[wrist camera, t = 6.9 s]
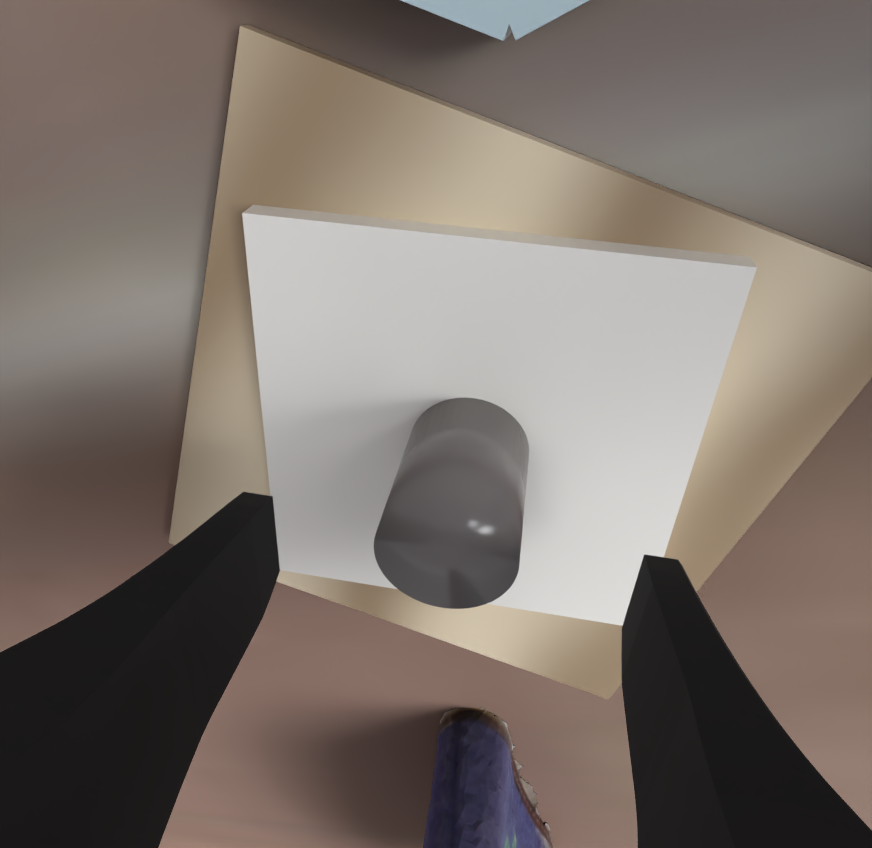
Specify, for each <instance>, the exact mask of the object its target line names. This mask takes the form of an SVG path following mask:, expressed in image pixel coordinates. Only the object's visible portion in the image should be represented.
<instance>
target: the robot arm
mask: <svg viewBox="0 0 872 848" xmlns="http://www.w3.org/2000/svg"><path fill="white" fill-rule="evenodd" d="M279 572H280V567H279V556H278V546H277V536H276V526H275V515H274V505H273V496H268V495H261V494H255V493H248V492H242V493H241V494H240V495H238V496H237V497H236V498H234V499H233V500H232V501H230V502H229V503H228V504H227V505H225V506H224V507H223V508H222V509H220V510H219V511H218V512H217V513H215V514H214V515H213V516H212V517H210V518H209V519H208V520H207V521H206V522H204V523H203V524H202V525H200V526H199V527H198V528H197V529H195V530H194V531H193V532H192V533H190V534H189V535H188V536H187V537H185V538H184V539H183V540H181V541H180V542H179V543H177V544H176V545H175V546H174V547H172V548H171V549H170V550H168V551H167V552H166V553H164V554H163V555H162V556H160V557H159V558H158V559H156V560H155V561H154V562H152V563H151V564H150V565H148V566H147V567H145V568H144V569H142V570H141V571H140V572H138V573H137V574H135V575H134V576H132V577H131V578H130V579H128V580H127V581H125V582H124V583H122V584H121V585H119V586H118V587H117V588H115V589H114V590H112V591H110V592H109V593H107V594H106V595H104V596H103V597H101V598H100V599H98V600H96V601H95V602H93V603H91V604H90V605H88V606H86V607H85V608H83V609H81V610H80V611H78V612H76V613H74V614H73V615H71V616H69V617H68V618H66V619H64V620H62V621H60V622H59V623H57V624H55V625H53V626H51V627H49V628H47V629H45V630H43V631H41V632H39V633H37V634H36V635H34V636H32V637H30V638H28V639H26V640H24V641H22V642H20V643H18V644H16V645H14V646H12V647H10V648H8V649H6V650H4V651H2V652H0V848H158V847H159V844H160V841H161V838H162V836H163V833H164V831H165V828H166V825H167V823H168V820H169V817H170V815H171V812H172V810H173V807H174V804H175V802H176V799H177V796H178V794H179V791H180V789H181V786H182V784H183V781H184V779H185V776H186V774H187V771H188V769H189V766H190V764H191V761H192V759H193V756H194V754H195V751H196V749H197V746H198V744H199V742H200V739H201V737H202V735H203V733H204V730H205V728H206V726H207V724H208V722H209V720H210V718H211V716H212V714H213V712H214V710H215V708H216V706H217V704H218V702H219V700H220V698H221V697H222V695H223V693H224V691H225V689H226V687H227V685H228V683H229V681H230V679H231V678H232V676H233V674H234V672H235V670H236V668H237V666H238V664H239V662H240V660H241V658H242V657H243V655H244V653H245V651H246V649H247V647H248V645H249V643H250V641H251V639H252V637H253V635H254V633H255V631H256V630H257V628H258V626H259V624H260V622H261V620H262V618H263V615H264V613H265V610H266V607H267V605H268V602H269V600H270V597H271V594H272V592H273V589H274V586H275V583H276V580H277V578H278V575H279ZM621 663H622V688H623V697H624V706H625V715H626V723H627V732H628V740H629V748H630V757H631V765H632V773H633V782H634V790H635V799H636V812H637V826H638V848H872V830H871V829H870V828H869V827H868V826H867V825H866V824H865V823H864V822H863V821H862V820H861V819H860V818H859V817H858V815H857V814H856V813H855V812H854V811H853V810H852V809H851V808H850V807H849V806H848V805H847V804H846V802H845V801H844V800H843V799H842V798H841V797H840V796H839V795H838V794H837V793H836V792H835V791H834V789H833V788H832V787H831V786H830V785H829V784H828V783H827V782H826V781H825V779H824V778H823V777H822V776H821V775H820V774H819V772H818V771H817V770H816V769H815V768H814V766H813V765H812V764H811V763H810V762H809V760H808V759H807V758H806V757H805V756H804V754H803V753H802V752H801V751H800V749H799V748H798V747H797V746H796V744H795V743H794V742H793V740H792V739H791V738H790V737H789V735H788V734H787V733H786V732H785V730H784V729H783V728H782V726H781V725H780V724H779V722H778V721H777V720H776V718H775V717H774V715H773V714H772V713H771V711H770V710H769V709H768V707H767V706H766V704H765V703H764V702H763V700H762V699H761V697H760V696H759V694H758V693H757V691H756V690H755V689H754V687H753V686H752V684H751V683H750V681H749V680H748V678H747V677H746V675H745V674H744V672H743V671H742V669H741V667H740V666H739V664H738V663H737V661H736V660H735V658H734V656H733V655H732V653H731V651H730V650H729V648H728V647H727V645H726V643H725V642H724V640H723V639H722V637H721V635H720V634H719V632H718V630H717V628H716V627H715V625H714V623H713V622H712V620H711V618H710V616H709V614H708V613H707V611H706V609H705V607H704V606H703V604H702V602H701V600H700V598H699V596H698V595H697V593H696V591H695V589H694V587H693V585H692V583H691V581H690V579H689V577H688V576H687V574H686V572H685V570H684V568H683V566H682V564H681V563H680V562H679V560H677V559H671V558H665V557H658V556H652V555H645V554H644V557H643V560H642V563H641V567H640V570H639V573H638V576H637V580H636V583H635V586H634V590H633V593H632V596H631V599H630V603H629V606H628V609H627V613H626V616H625V619H624V622H623V626H622V652H621Z"/></svg>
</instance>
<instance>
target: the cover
mask: <svg viewBox="0 0 872 848" xmlns="http://www.w3.org/2000/svg"><path fill="white" fill-rule="evenodd" d="M242 218H243V228H244V238H245V248H246V258H247V268H248V278H249V287H250V297H251V307H252V317H253V327H254V337H255V347H256V357H257V367H258V377H259V387H260V397H261V407H262V417H263V427H264V437H265V447H266V457H267V466H268V476H269V486H270V496H273V505H274V515H275V526H276V536H277V546H278V556H279V567H280V570H282V571H288V572H294V573H300V574H306V575H313V576H319V577H325V578H331V579H337V580H343V581H350V582H356V583H362V584H368V585H374V586H380V587H387V588H393V589H398V590H400V591H401V592H403V593H404V594H406V595H407V596H409V597H411V598H413V599H415V600H417V601H420V602H422V603H425V604H428V605H431V606H436V607H441V608H449V609H465V608H473V607H478V606H481V605H485V604H492V605H498V606H504V607H510V608H516V609H522V610H529V611H535V612H541V613H547V614H553V615H559V616H566V617H572V618H578V619H584V620H590V621H596V622H603V623H609V624H615V625H621V626H623V622H624V619H625V616H626V613H627V609H628V606H629V603H630V599H631V596H632V593H633V590H634V586H635V583H636V580H637V576H638V573H639V570H640V567H641V563H642V560H643V557H644V554H645V555H652V556H658V557H664V555H665V552H666V548H667V545H668V542H669V539H670V536H671V533H672V530H673V527H674V524H675V520H676V517H677V514H678V511H679V508H680V505H681V502H682V499H683V496H684V493H685V489H686V486H687V483H688V480H689V477H690V474H691V471H692V468H693V465H694V462H695V458H696V455H697V452H698V449H699V446H700V443H701V440H702V437H703V434H704V431H705V427H706V424H707V421H708V418H709V415H710V412H711V409H712V406H713V403H714V399H715V396H716V393H717V390H718V387H719V384H720V381H721V378H722V375H723V372H724V368H725V365H726V362H727V359H728V356H729V353H730V350H731V347H732V344H733V341H734V337H735V334H736V331H737V328H738V325H739V322H740V319H741V316H742V313H743V309H744V306H745V303H746V300H747V297H748V294H749V291H750V288H751V285H752V282H753V278H754V275H755V272H756V269H757V267H756V265H755V264H754V262H753V260H752V259H751V257H749V256H739V255H730V254H720V253H711V252H701V251H692V250H682V249H672V248H663V247H653V246H644V245H634V244H625V243H615V242H605V241H596V240H586V239H577V238H567V237H558V236H548V235H538V234H529V233H519V232H510V231H500V230H490V229H481V228H471V227H462V226H452V225H443V224H433V223H423V222H414V221H404V220H395V219H385V218H376V217H366V216H356V215H347V214H337V213H328V212H318V211H309V210H299V209H289V208H280V207H270V206H261V205H252V206H251V207H250V208H248V209H247V210H245V211H244V212H243V213H242Z"/></svg>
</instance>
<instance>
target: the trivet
mask: <svg viewBox="0 0 872 848" xmlns="http://www.w3.org/2000/svg"><path fill="white" fill-rule="evenodd" d="M252 205H261V206H270V207H280V208H289V209H299V210H309V211H318V212H328V213H337V214H347V215H356V216H366V217H376V218H385V219H395V220H404V221H414V222H423V223H433V224H443V225H452V226H462V227H471V228H481V229H490V230H500V231H510V232H519V233H529V234H538V235H548V236H558V237H567V238H577V239H586V240H596V241H605V242H615V243H625V244H634V245H644V246H653V247H663V248H672V249H682V250H692V251H701V252H711V253H720V254H730V255H739V256H749V257H751V259H752V260H753V262H754V264H755V265H756V267H757V269H756V272H755V275H754V278H753V282H752V285H751V288H750V291H749V294H748V297H747V300H746V303H745V306H744V309H743V313H742V316H741V319H740V322H739V325H738V328H737V331H736V334H735V337H734V341H733V344H732V347H731V350H730V353H729V356H728V359H727V362H726V365H725V368H724V372H723V375H722V378H721V381H720V384H719V387H718V390H717V393H716V396H715V399H714V403H713V406H712V409H711V412H710V415H709V418H708V421H707V424H706V427H705V431H704V434H703V437H702V440H701V443H700V446H699V449H698V452H697V455H696V458H695V462H694V465H693V468H692V471H691V474H690V477H689V480H688V483H687V486H686V489H685V493H684V496H683V499H682V502H681V505H680V508H679V511H678V514H677V517H676V520H675V524H674V527H673V530H672V533H671V536H670V539H669V542H668V545H667V548H666V552H665V555H664V557H665V558H671V559H677V560H679V562H680V563H681V564H682V566H683V568H684V570H685V572H686V574H687V576H688V577H689V579H690V581H691V583H692V585H693V587H694V589H695V591H696V592H697V591H698V589H699V588H700V587H701V586H702V585H703V583H704V582H705V581H706V580H707V578H708V577H709V576H710V575H711V574H712V572H713V571H714V570H715V569H716V567H717V566H718V565H719V564H720V563H721V561H722V560H723V559H724V558H725V556H726V555H727V554H728V553H729V552H730V550H731V549H732V548H733V547H734V545H735V544H736V543H737V542H738V541H739V539H740V538H741V537H742V536H743V534H744V533H745V532H746V531H747V530H748V528H749V527H750V526H751V525H752V523H753V522H754V521H755V520H756V519H757V517H758V516H759V515H760V514H761V512H762V511H763V510H764V509H765V508H766V506H767V505H768V504H769V503H770V501H771V500H772V499H773V498H774V497H775V495H776V494H777V493H778V492H779V490H780V489H781V488H782V487H783V486H784V484H785V483H786V482H787V481H788V479H789V478H790V477H791V476H792V475H793V473H794V472H795V471H796V470H797V468H798V467H799V466H800V465H801V464H802V462H803V461H804V460H805V459H806V457H807V456H808V455H809V454H810V453H811V451H812V450H813V449H814V448H815V446H816V445H817V444H818V443H819V442H820V440H821V439H822V438H823V437H824V435H825V434H826V433H827V432H828V431H829V429H830V428H831V427H832V426H833V424H834V423H835V422H836V421H837V420H838V418H839V417H840V416H841V415H842V413H843V412H844V411H845V410H846V409H847V407H848V406H849V405H850V404H851V402H852V401H853V400H854V399H855V398H856V396H857V395H858V394H859V393H860V391H861V390H862V389H863V388H864V387H865V385H866V384H867V383H868V382H869V380H870V379H871V378H872V268H871V267H869V266H866V265H864V264H861V263H859V262H856V261H853V260H851V259H848V258H846V257H843V256H841V255H838V254H835V253H833V252H830V251H828V250H825V249H823V248H820V247H818V246H815V245H812V244H810V243H807V242H805V241H802V240H800V239H797V238H794V237H792V236H789V235H787V234H784V233H782V232H779V231H776V230H774V229H771V228H769V227H766V226H764V225H761V224H759V223H756V222H753V221H751V220H748V219H746V218H743V217H741V216H738V215H735V214H733V213H730V212H728V211H725V210H723V209H720V208H717V207H715V206H712V205H710V204H707V203H705V202H702V201H700V200H697V199H694V198H692V197H689V196H687V195H684V194H682V193H679V192H676V191H674V190H671V189H669V188H666V187H664V186H661V185H658V184H656V183H653V182H651V181H648V180H646V179H643V178H641V177H638V176H635V175H633V174H630V173H628V172H625V171H623V170H620V169H617V168H615V167H612V166H610V165H607V164H605V163H602V162H599V161H597V160H594V159H592V158H589V157H587V156H584V155H582V154H579V153H576V152H574V151H571V150H569V149H566V148H564V147H561V146H558V145H556V144H553V143H551V142H548V141H546V140H543V139H540V138H538V137H535V136H533V135H530V134H528V133H525V132H523V131H520V130H517V129H515V128H512V127H510V126H507V125H505V124H502V123H499V122H497V121H494V120H492V119H489V118H487V117H484V116H481V115H479V114H476V113H474V112H471V111H469V110H466V109H464V108H461V107H458V106H456V105H453V104H451V103H448V102H446V101H443V100H440V99H438V98H435V97H433V96H430V95H428V94H425V93H422V92H420V91H417V90H415V89H412V88H410V87H407V86H405V85H402V84H399V83H397V82H394V81H392V80H389V79H387V78H384V77H381V76H379V75H376V74H374V73H371V72H369V71H366V70H363V69H361V68H358V67H356V66H353V65H351V64H348V63H346V62H343V61H340V60H338V59H335V58H333V57H330V56H328V55H325V54H322V53H320V52H317V51H315V50H312V49H310V48H307V47H304V46H302V45H299V44H297V43H294V42H292V41H289V40H287V39H284V38H281V37H279V36H276V35H274V34H271V33H269V32H266V31H263V30H261V29H258V28H256V27H253V26H251V25H243V26H240V29H239V36H238V44H237V51H236V58H235V65H234V73H233V80H232V87H231V94H230V102H229V109H228V116H227V123H226V131H225V138H224V145H223V152H222V160H221V167H220V174H219V181H218V189H217V196H216V203H215V210H214V218H213V225H212V232H211V239H210V247H209V254H208V261H207V268H206V276H205V283H204V290H203V297H202V305H201V312H200V319H199V326H198V334H197V341H196V348H195V355H194V363H193V370H192V377H191V384H190V392H189V399H188V406H187V413H186V421H185V428H184V435H183V442H182V450H181V457H180V464H179V471H178V479H177V486H176V493H175V500H174V508H173V515H172V522H171V529H170V537H169V543H170V544H172V545H176V544H177V543H179V542H180V541H181V540H183V539H184V538H185V537H187V536H188V535H189V534H190V533H192V532H193V531H194V530H195V529H197V528H198V527H199V526H200V525H202V524H203V523H204V522H206V521H207V520H208V519H209V518H210V517H212V516H213V515H214V514H215V513H217V512H218V511H219V510H220V509H222V508H223V507H224V506H225V505H227V504H228V503H229V502H230V501H232V500H233V499H234V498H236V497H237V496H238V495H240V494H241V493H242V492H248V493H255V494H261V495H268V496H270V486H269V476H268V466H267V457H266V447H265V437H264V427H263V417H262V407H261V397H260V387H259V377H258V367H257V357H256V347H255V337H254V327H253V317H252V307H251V297H250V287H249V278H248V268H247V258H246V248H245V238H244V228H243V218H242V213H243V212H244V211H245V210H247V209H248V208H250V207H251V206H252ZM276 581H277V582H279V583H282V584H285V585H288V586H291V587H293V588H296V589H299V590H302V591H305V592H307V593H310V594H313V595H316V596H319V597H322V598H324V599H327V600H330V601H333V602H336V603H338V604H341V605H344V606H347V607H350V608H352V609H355V610H358V611H361V612H364V613H367V614H369V615H372V616H375V617H378V618H381V619H383V620H386V621H389V622H392V623H395V624H397V625H400V626H403V627H406V628H409V629H412V630H414V631H417V632H420V633H423V634H426V635H428V636H431V637H434V638H437V639H440V640H442V641H445V642H448V643H451V644H454V645H457V646H459V647H462V648H465V649H468V650H471V651H473V652H476V653H479V654H482V655H485V656H487V657H490V658H493V659H496V660H499V661H502V662H504V663H507V664H510V665H513V666H516V667H518V668H521V669H524V670H527V671H530V672H532V673H535V674H538V675H541V676H544V677H547V678H549V679H552V680H555V681H558V682H561V683H563V684H566V685H569V686H572V687H575V688H577V689H580V690H583V691H586V692H589V693H592V694H594V695H597V696H600V697H603V698H606V699H609V698H610V697H611V696H612V694H613V693H614V692H615V691H616V690H617V688H618V687H619V686H620V685H621V683H622V663H621V652H622V626H621V625H615V624H609V623H603V622H596V621H590V620H584V619H578V618H572V617H566V616H559V615H553V614H547V613H541V612H535V611H529V610H522V609H516V608H510V607H504V606H498V605H492V604H485V605H481V606H478V607H473V608H465V609H449V608H441V607H436V606H431V605H428V604H425V603H422V602H420V601H417V600H415V599H413V598H411V597H409V596H407V595H406V594H404V593H403V592H401V591H400V590H398V589H393V588H387V587H380V586H374V585H368V584H362V583H356V582H350V581H343V580H337V579H331V578H325V577H319V576H313V575H306V574H300V573H294V572H288V571H282V570H280V572H279V575H278V578H277V580H276Z"/></svg>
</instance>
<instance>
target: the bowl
mask: <svg viewBox="0 0 872 848" xmlns="http://www.w3.org/2000/svg"><path fill="white" fill-rule="evenodd" d="M401 1H403V2H406V3H408V4H411V5H413V6H416V7H419V8H421V9H424V10H426V11H429V12H431V13H434V14H436V15H439V16H441V17H444V18H446V19H449V20H451V21H454V22H456V23H459V24H462V25H464V26H467V27H469V28H472V29H474V30H477V31H479V32H482V33H484V34H487V35H489V36H492V37H494V38H497V39H499V40H502V41H504V40H505V39H506V38H507V37H508V36H509V35H510V34H511V33H513V35H514V38H515V40H517V39H519V38H521V37H523V36H524V35H526V34H528V33H530V32H532V31H534V30H535V29H537V28H539V27H541V26H543V25H545V24H546V23H548V22H550V21H552V20H554V19H556V18H557V17H559V16H561V15H563V14H565V13H567V12H569V11H570V10H572V9H574V8H576V7H578V6H580V5H581V4H583V3H585V2H587V1H589V0H401Z"/></svg>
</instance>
